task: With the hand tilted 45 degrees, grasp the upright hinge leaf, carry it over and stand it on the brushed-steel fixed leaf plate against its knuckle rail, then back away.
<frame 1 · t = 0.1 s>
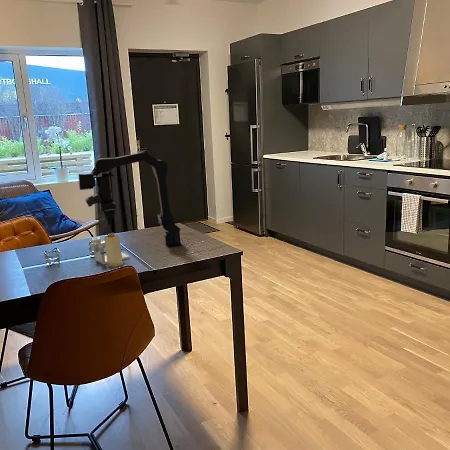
hand: (108, 222, 210), 15 cm above the table, tool pointing down, fingers open, 9 cm apart
valve: (106, 251, 219), on the table
loose leaf: (115, 264, 197), on the table
fixed leaf: (112, 259, 205), on the table
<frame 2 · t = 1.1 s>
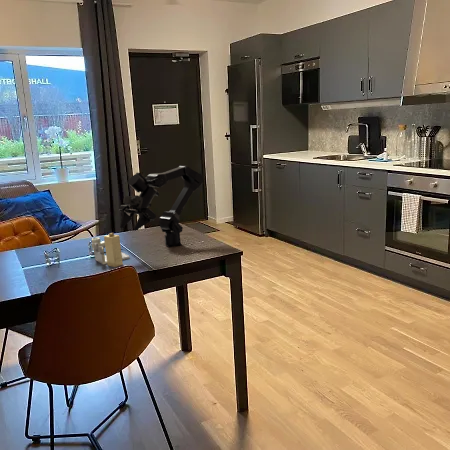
hand: (127, 229, 200), 13 cm above the table, tool tilted 45°, fingers open, 9 cm apart
nothing on the table moved.
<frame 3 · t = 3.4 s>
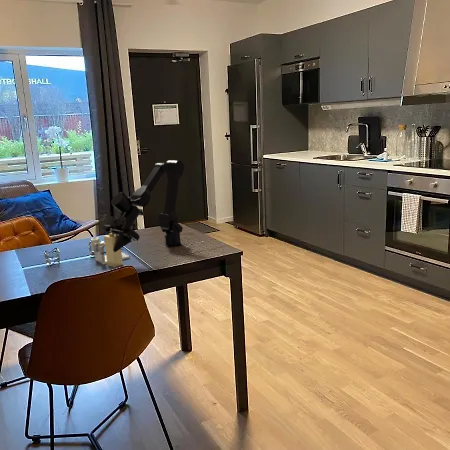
hand: (110, 250, 195), 7 cm above the table, tool tilted 45°, fingers closed on loose leaf, 5 cm apart
loose leaf: (115, 264, 197), on the table, touching gripper
everything else where it was.
when the fingers open (9 cm above the table, at t = 6.8 s): loose leaf stays where it is, resting on fixed leaf.
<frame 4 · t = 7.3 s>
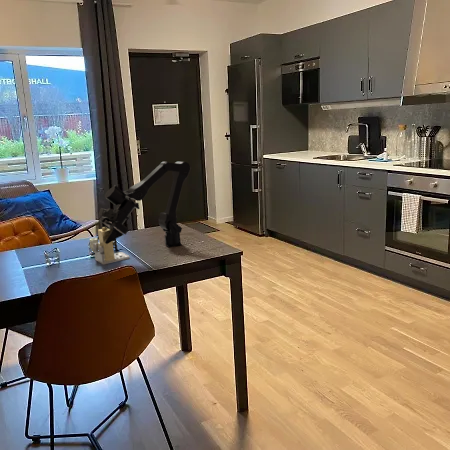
hand: (102, 241, 201), 9 cm above the table, tool tilted 45°, fingers open, 9 cm apart
loose leaf: (108, 257, 204), point 1 cm above the table, touching fixed leaf
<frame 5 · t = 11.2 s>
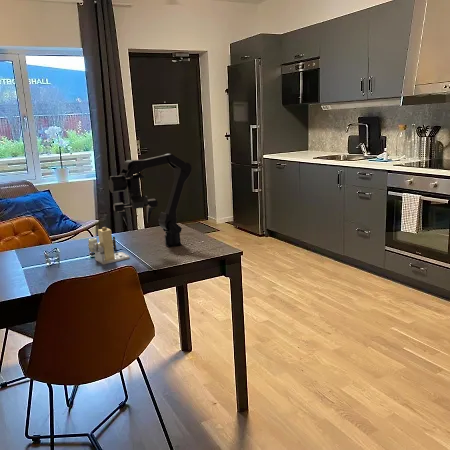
hand: (137, 224, 210), 13 cm above the table, tool pointing down, fingers open, 9 cm apart
at the end: loose leaf 0.3 cm from the target spot on the fixed leaf, point 1.0 cm above the fixed leaf's base; loose leaf tilted 0°; loose leaf touching fixed leaf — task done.
